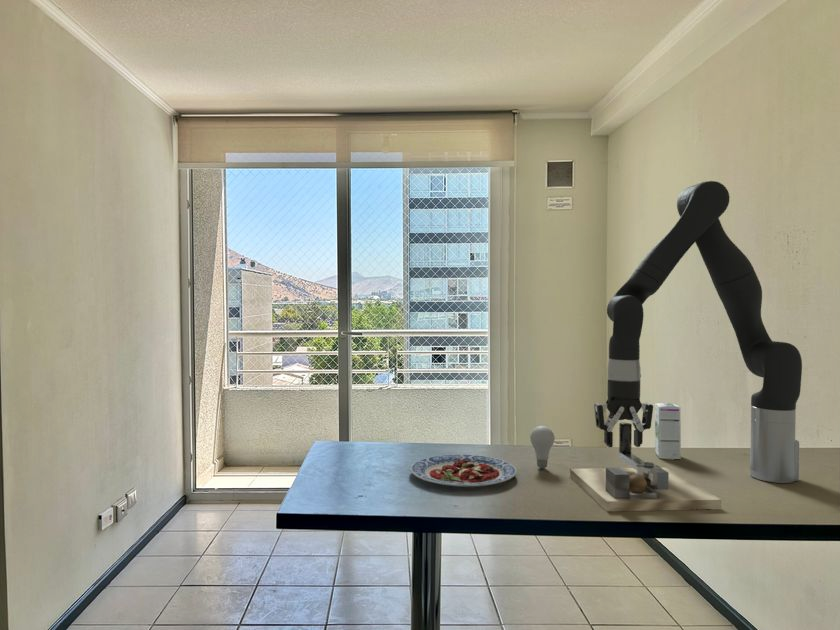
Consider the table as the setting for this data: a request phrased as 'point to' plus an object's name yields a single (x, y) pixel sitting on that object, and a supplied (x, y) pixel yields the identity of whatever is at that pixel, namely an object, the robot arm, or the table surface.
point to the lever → (643, 468)
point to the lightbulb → (542, 444)
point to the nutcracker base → (615, 494)
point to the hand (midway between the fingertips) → (623, 446)
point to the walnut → (637, 484)
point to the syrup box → (667, 431)
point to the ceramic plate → (463, 470)
